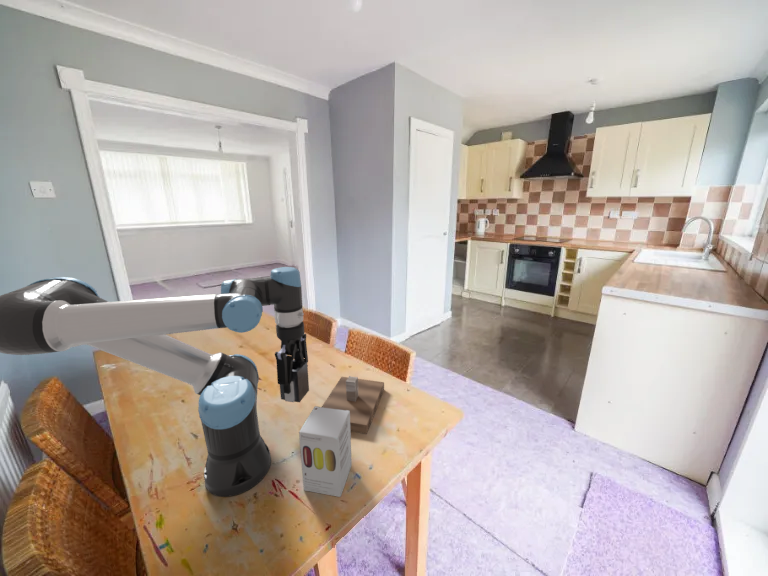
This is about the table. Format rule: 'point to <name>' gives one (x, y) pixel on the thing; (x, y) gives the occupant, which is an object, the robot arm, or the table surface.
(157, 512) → the table surface
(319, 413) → the supplement box
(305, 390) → the hollow square tube
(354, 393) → the tang block
